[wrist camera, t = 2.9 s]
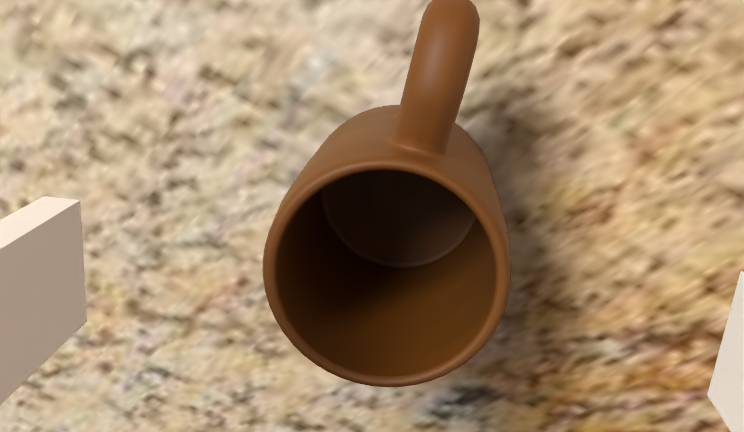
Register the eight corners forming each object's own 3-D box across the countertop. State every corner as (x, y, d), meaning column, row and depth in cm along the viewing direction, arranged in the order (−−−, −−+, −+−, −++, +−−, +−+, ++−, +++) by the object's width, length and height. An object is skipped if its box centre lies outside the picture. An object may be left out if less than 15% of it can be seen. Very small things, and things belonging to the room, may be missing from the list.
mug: (356, -34, 27) (316, -43, 18) (550, 15, 27) (605, 31, 18) (294, 250, 31) (236, 358, 22) (463, 294, 31) (474, 420, 22)
